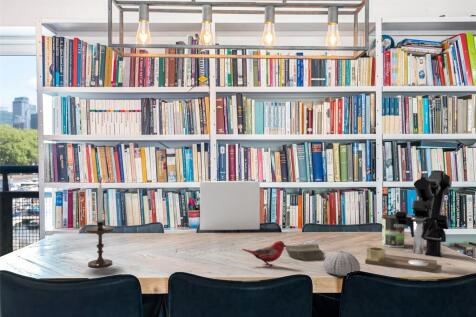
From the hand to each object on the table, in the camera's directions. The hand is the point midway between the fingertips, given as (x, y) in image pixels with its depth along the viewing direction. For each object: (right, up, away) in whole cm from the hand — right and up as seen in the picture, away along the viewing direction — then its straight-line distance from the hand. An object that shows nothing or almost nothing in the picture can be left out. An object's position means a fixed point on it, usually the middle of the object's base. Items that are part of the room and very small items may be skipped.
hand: (417, 237), depth 149 cm
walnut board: (-4, -12, +6) cm, 14 cm away
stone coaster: (+1, -10, +1) cm, 11 cm away
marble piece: (-39, -12, +19) cm, 46 cm away
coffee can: (+6, -12, +39) cm, 42 cm away
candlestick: (-124, -12, +5) cm, 124 cm away
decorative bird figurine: (-59, -12, +4) cm, 60 cm away
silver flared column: (+1, -6, +1) cm, 6 cm away
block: (-74, -12, +82) cm, 111 cm away
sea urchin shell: (-30, -12, -5) cm, 33 cm away
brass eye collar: (-13, -10, +8) cm, 19 cm away
